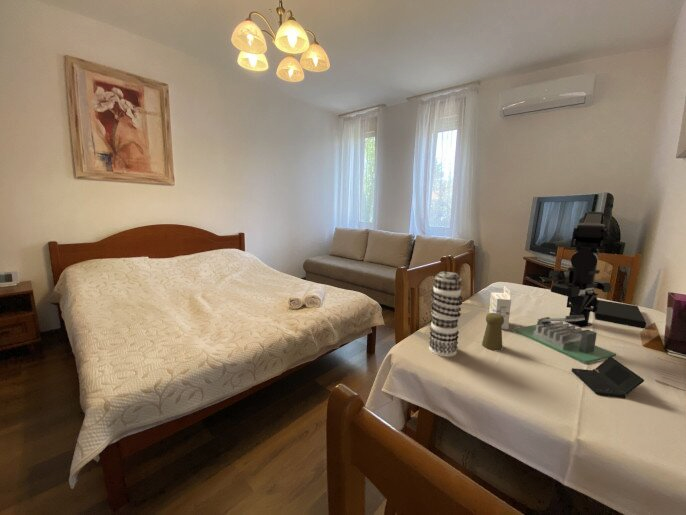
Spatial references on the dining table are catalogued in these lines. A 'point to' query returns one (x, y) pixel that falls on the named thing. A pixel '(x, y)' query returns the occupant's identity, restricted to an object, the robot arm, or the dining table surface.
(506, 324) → the ink cartridge box
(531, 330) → the circuit board
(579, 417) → the dining table surface
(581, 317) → the retention strap
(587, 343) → the heat sink
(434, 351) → the decorative candle
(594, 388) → the handheld gaming console
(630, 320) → the external hard drive
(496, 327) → the cork
